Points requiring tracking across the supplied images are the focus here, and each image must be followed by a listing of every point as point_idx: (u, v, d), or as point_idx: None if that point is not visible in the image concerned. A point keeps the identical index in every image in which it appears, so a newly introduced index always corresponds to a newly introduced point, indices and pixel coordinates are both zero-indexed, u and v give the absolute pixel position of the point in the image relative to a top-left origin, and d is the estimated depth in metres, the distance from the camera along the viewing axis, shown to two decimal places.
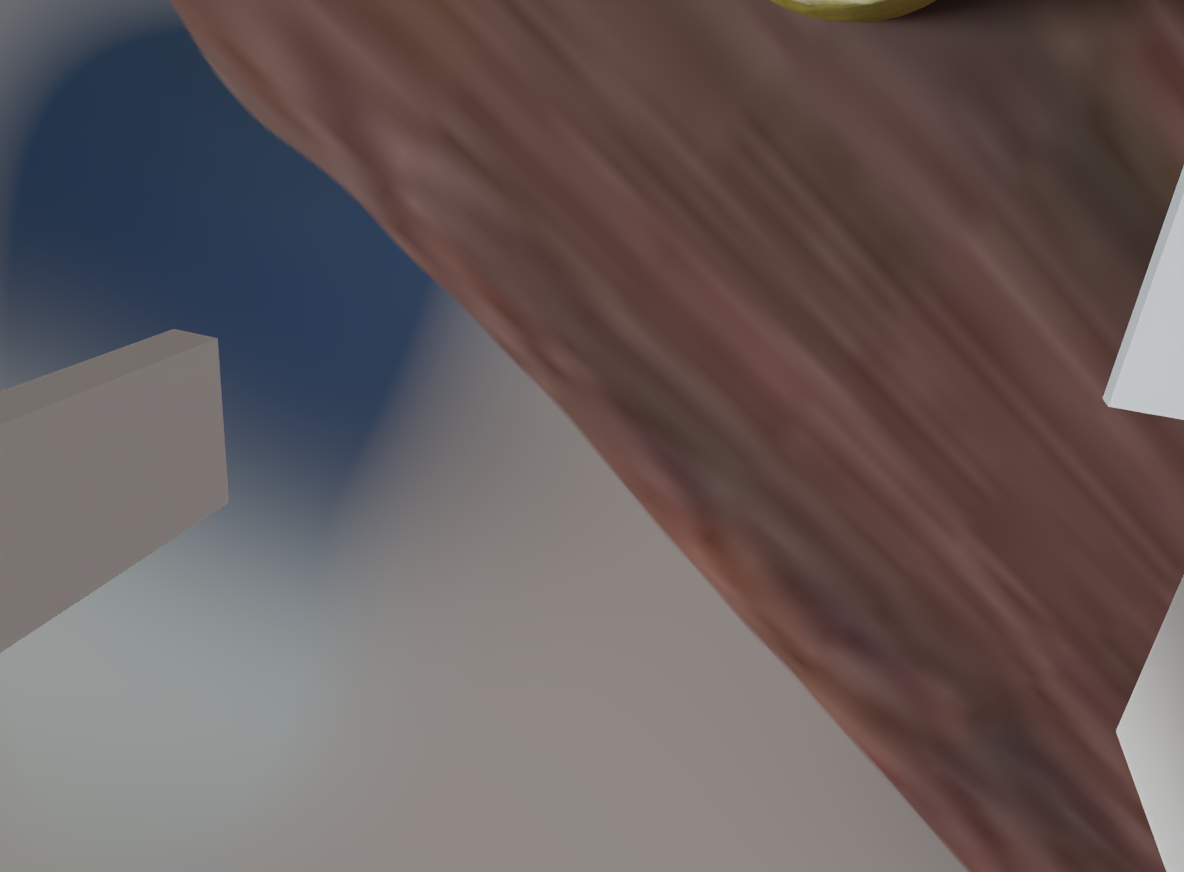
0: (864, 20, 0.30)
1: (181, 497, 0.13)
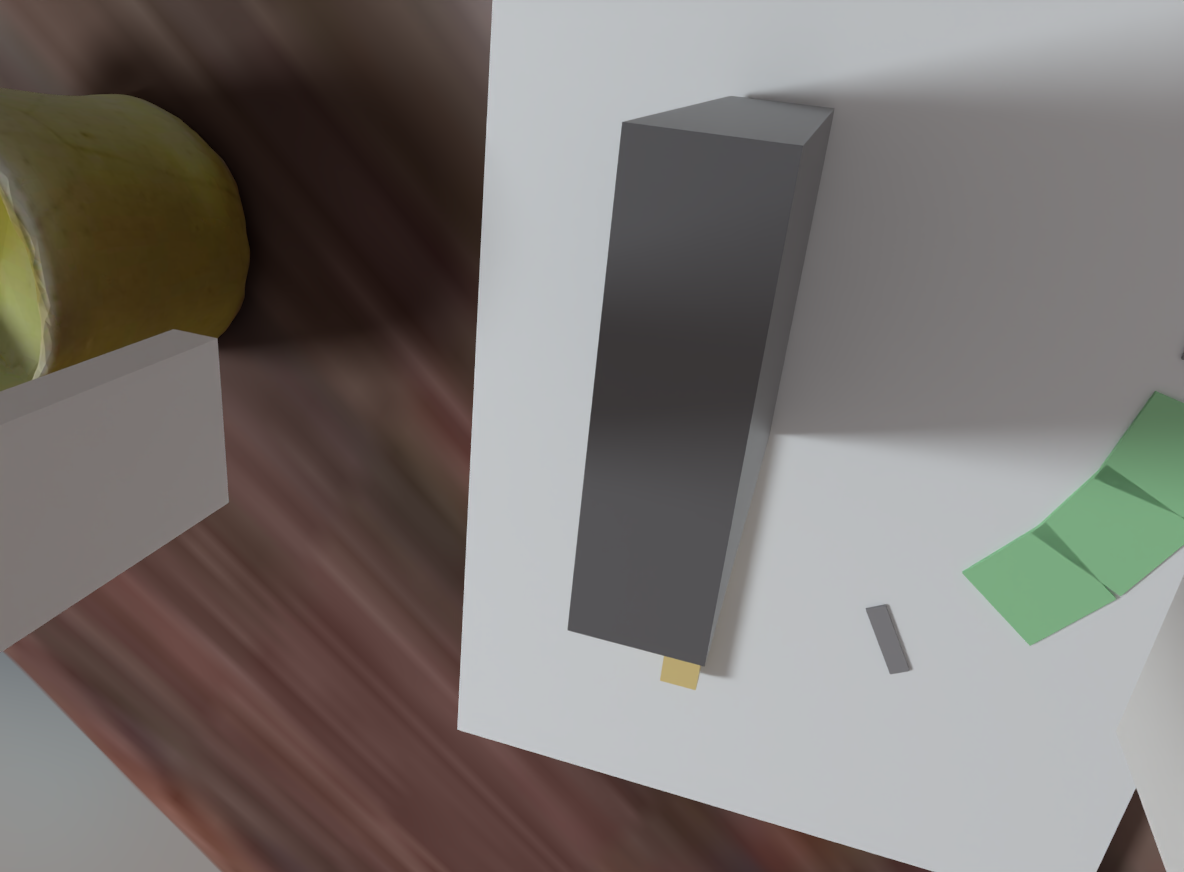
0: None
1: (181, 497, 0.13)
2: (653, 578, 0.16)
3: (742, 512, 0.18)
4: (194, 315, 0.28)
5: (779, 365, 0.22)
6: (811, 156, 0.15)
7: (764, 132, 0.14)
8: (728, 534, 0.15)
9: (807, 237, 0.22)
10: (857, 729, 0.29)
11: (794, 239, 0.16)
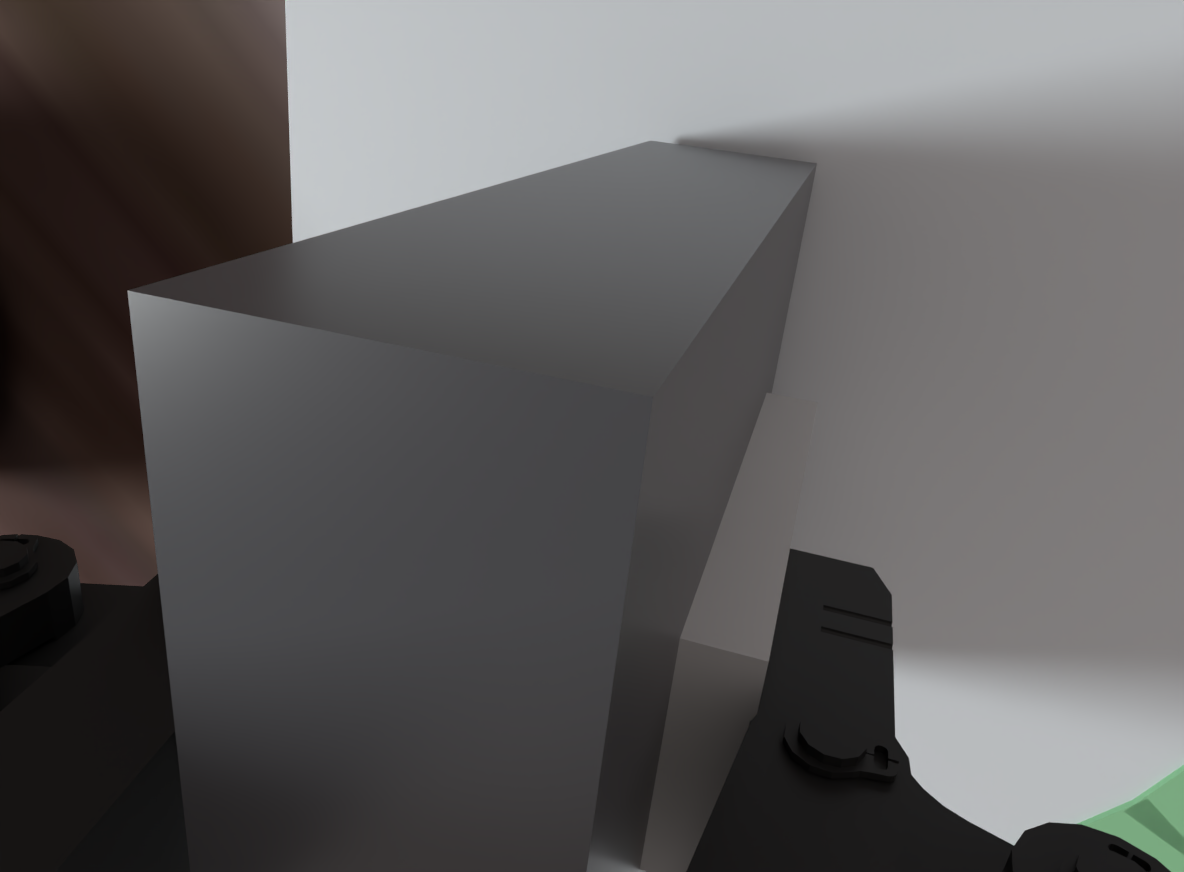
0: None
1: None
2: None
3: None
4: None
5: None
6: (742, 313, 0.07)
7: (590, 296, 0.05)
8: None
9: (772, 373, 0.14)
10: None
11: (705, 494, 0.07)
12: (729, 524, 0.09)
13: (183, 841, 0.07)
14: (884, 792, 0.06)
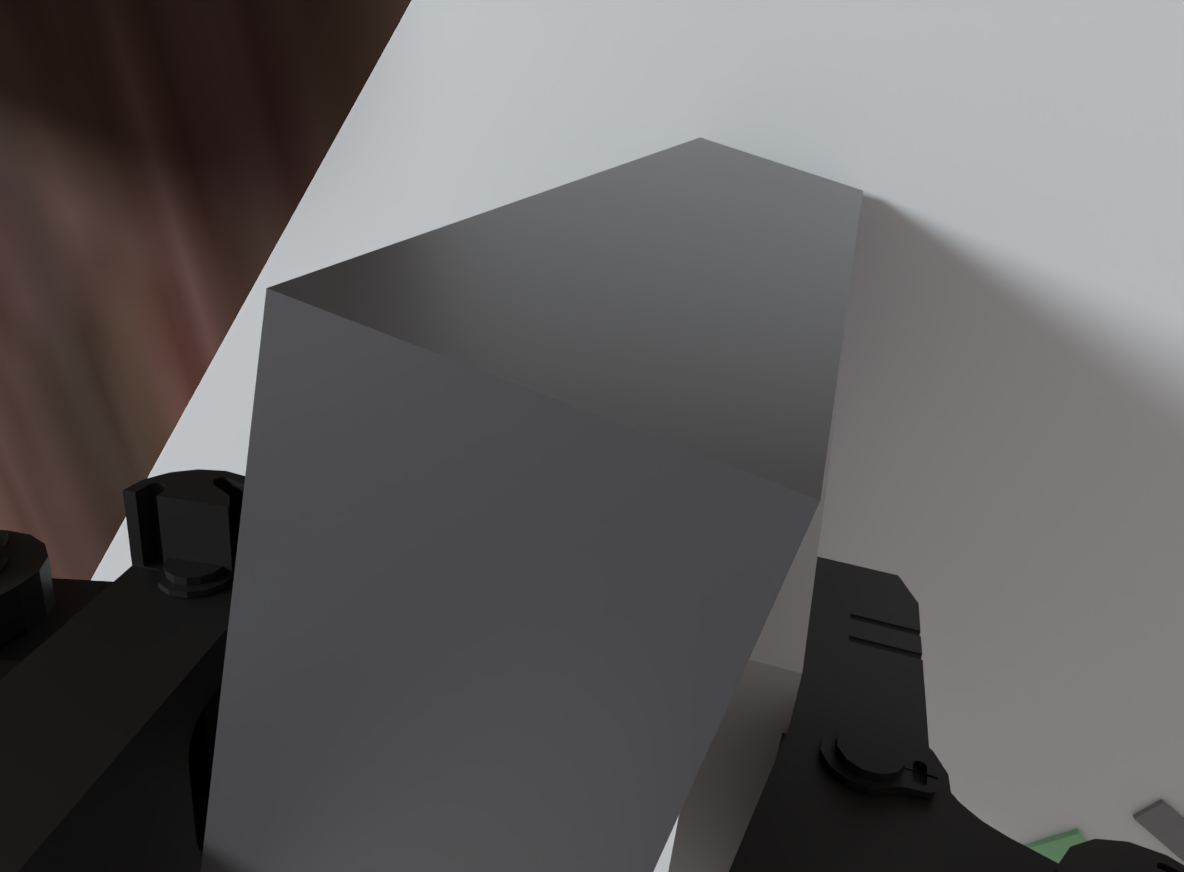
0: None
1: None
2: None
3: None
4: None
5: None
6: None
7: (715, 350, 0.05)
8: None
9: None
10: None
11: None
12: None
13: (155, 833, 0.07)
14: (923, 808, 0.06)
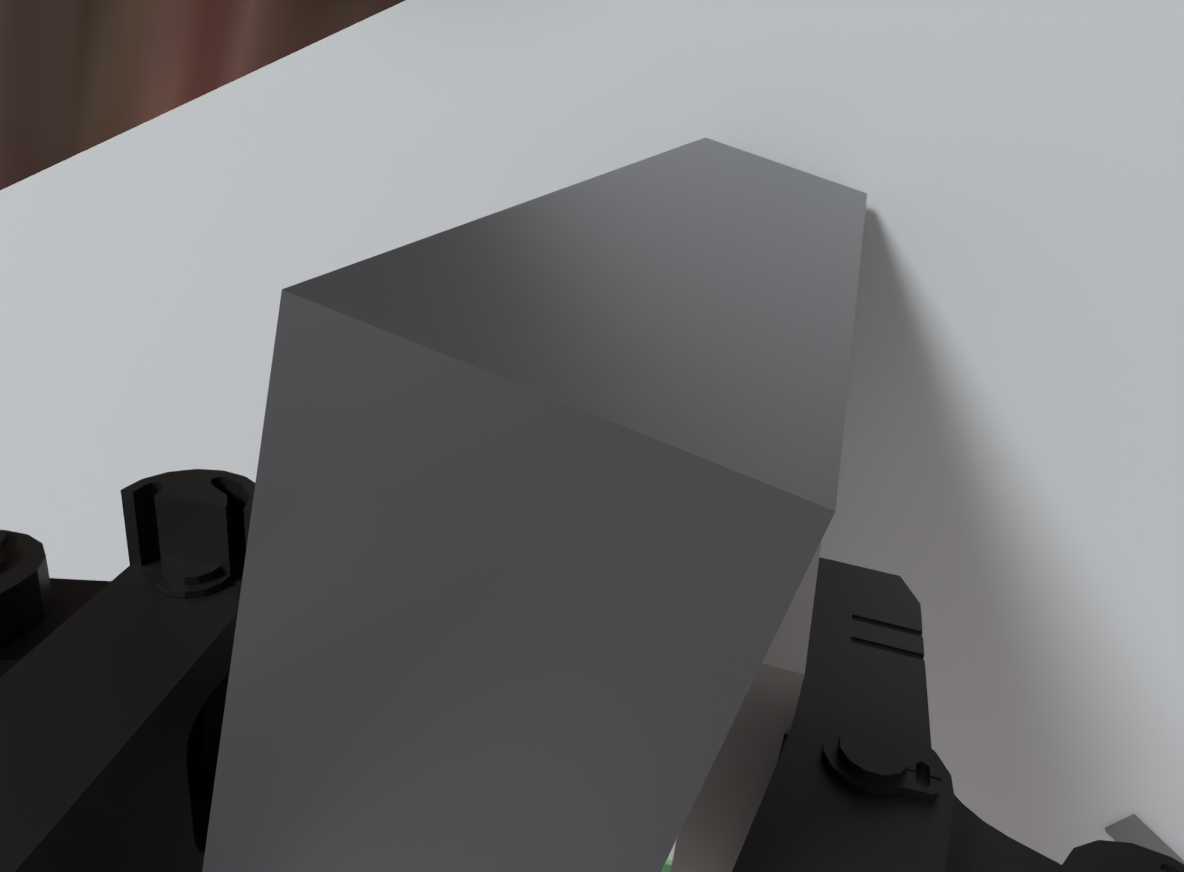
0: None
1: None
2: None
3: None
4: None
5: None
6: None
7: (727, 357, 0.05)
8: None
9: None
10: None
11: None
12: None
13: (153, 833, 0.07)
14: (927, 810, 0.06)
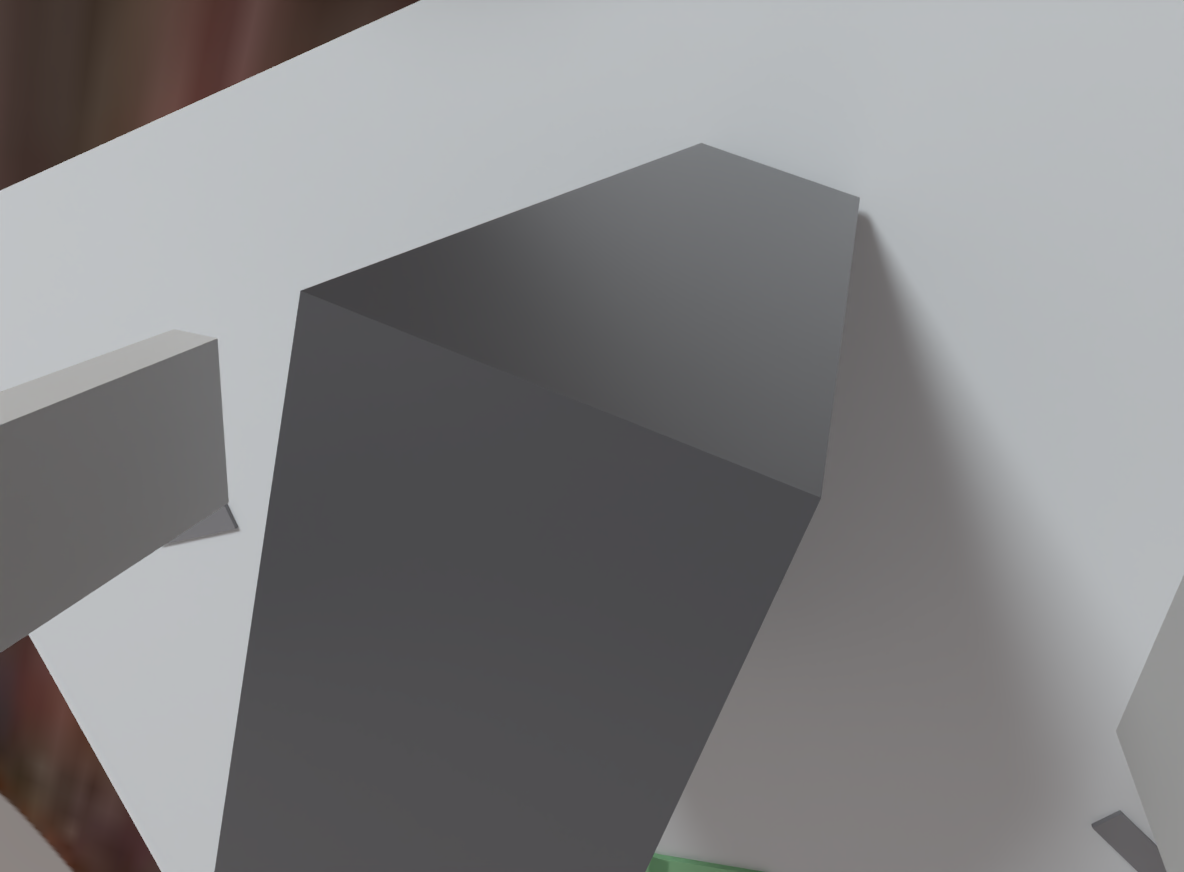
0: None
1: (181, 497, 0.13)
2: None
3: None
4: None
5: None
6: None
7: (721, 355, 0.05)
8: None
9: None
10: (232, 740, 0.23)
11: None
12: None
13: None
14: None
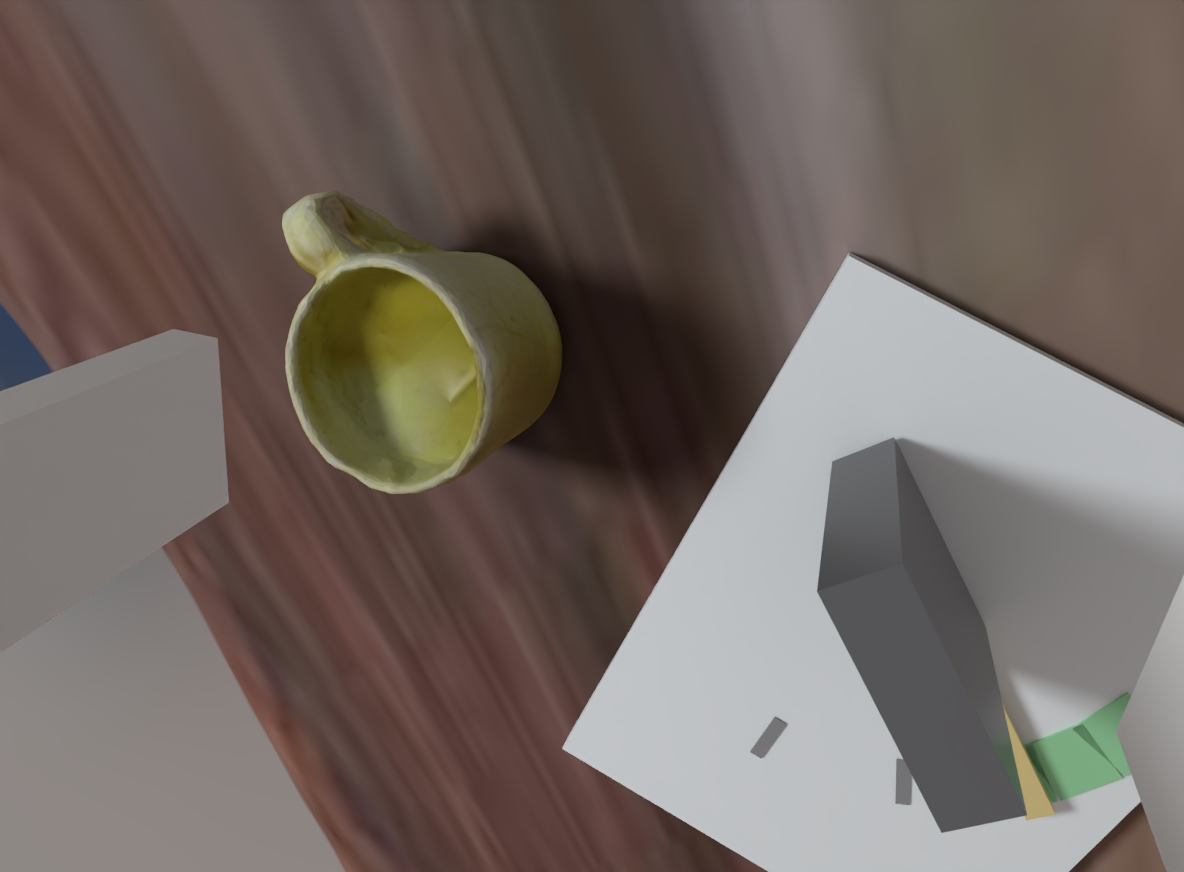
0: None
1: (181, 497, 0.13)
2: (968, 782, 0.27)
3: (993, 709, 0.30)
4: (514, 436, 0.38)
5: (960, 597, 0.33)
6: (905, 528, 0.28)
7: (878, 549, 0.27)
8: (989, 741, 0.26)
9: (926, 514, 0.35)
10: (858, 830, 0.42)
11: (923, 570, 0.28)
12: None
13: None
14: None
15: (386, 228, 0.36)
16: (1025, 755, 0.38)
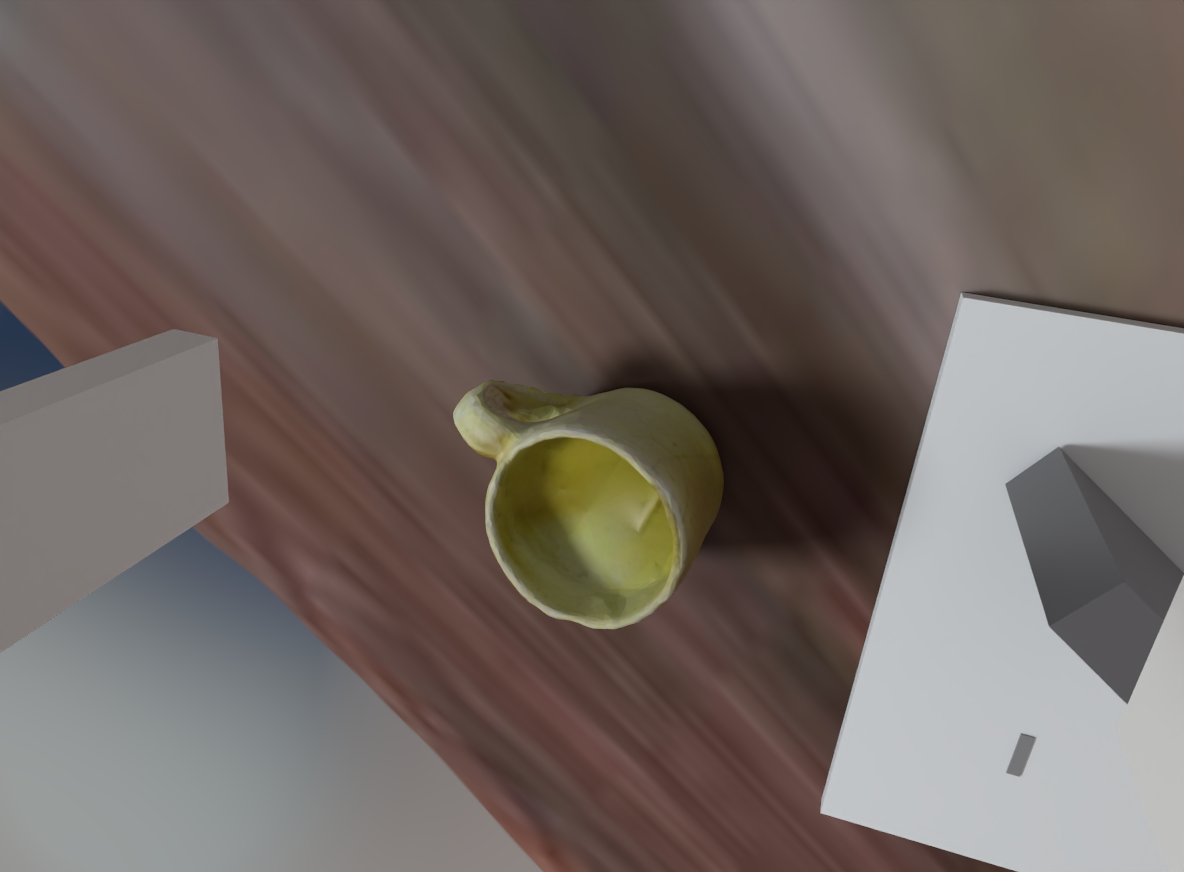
0: None
1: (181, 497, 0.13)
2: None
3: None
4: None
5: (1176, 581, 0.34)
6: (1109, 541, 0.30)
7: (1094, 571, 0.28)
8: None
9: (1115, 509, 0.36)
10: (1139, 823, 0.42)
11: (1140, 575, 0.30)
12: None
13: None
14: None
15: (538, 395, 0.40)
16: None
